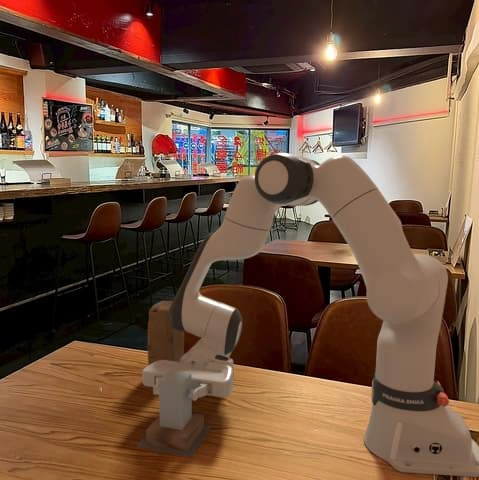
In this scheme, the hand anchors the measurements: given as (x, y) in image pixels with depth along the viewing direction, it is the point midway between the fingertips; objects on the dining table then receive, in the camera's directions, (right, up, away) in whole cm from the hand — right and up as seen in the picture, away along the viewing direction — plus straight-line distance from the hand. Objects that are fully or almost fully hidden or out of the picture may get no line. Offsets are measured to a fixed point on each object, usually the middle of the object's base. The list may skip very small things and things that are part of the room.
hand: (173, 394), depth 96 cm
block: (-6, -5, +33) cm, 34 cm away
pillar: (0, -6, +2) cm, 7 cm away
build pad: (0, -10, +2) cm, 10 cm away
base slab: (0, -9, +2) cm, 10 cm away
